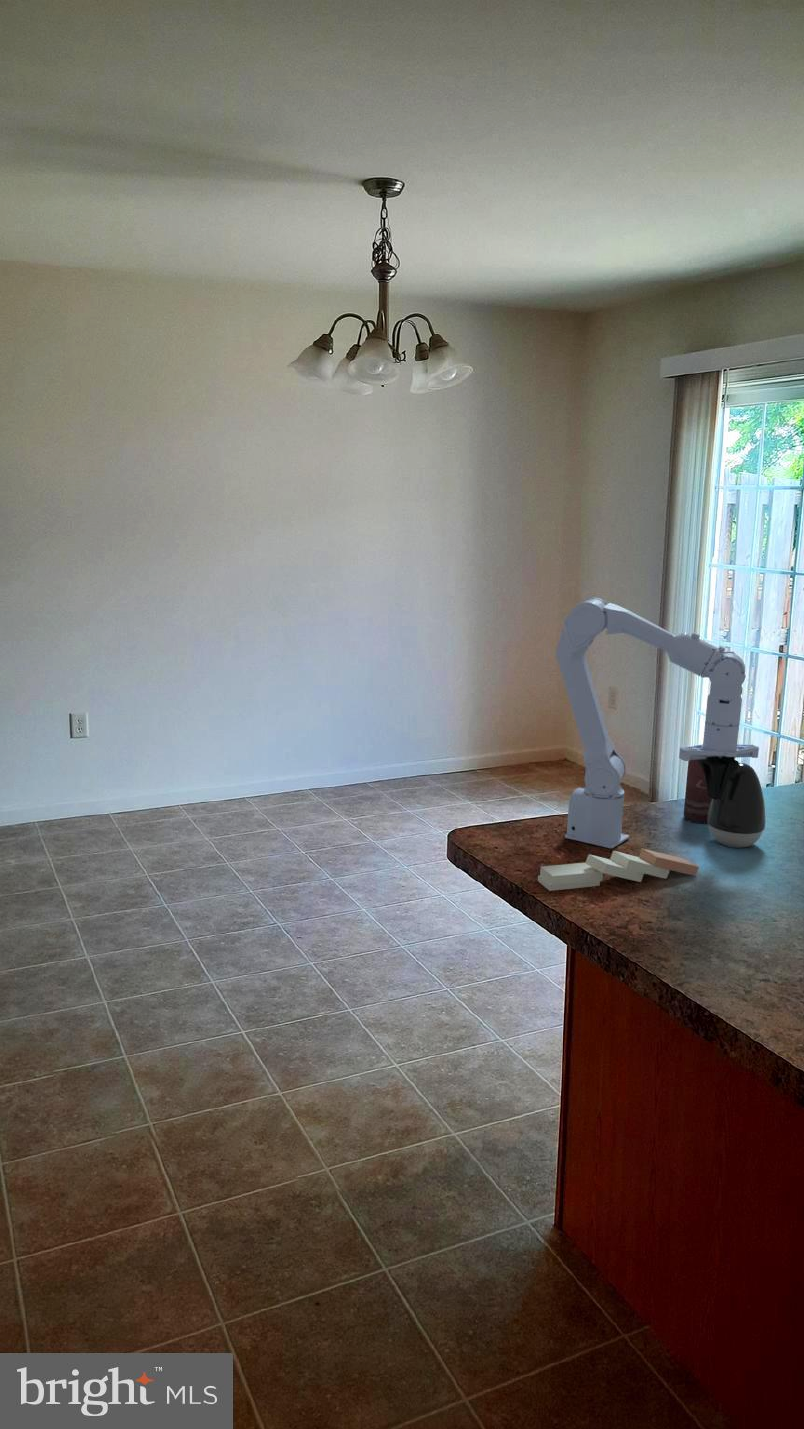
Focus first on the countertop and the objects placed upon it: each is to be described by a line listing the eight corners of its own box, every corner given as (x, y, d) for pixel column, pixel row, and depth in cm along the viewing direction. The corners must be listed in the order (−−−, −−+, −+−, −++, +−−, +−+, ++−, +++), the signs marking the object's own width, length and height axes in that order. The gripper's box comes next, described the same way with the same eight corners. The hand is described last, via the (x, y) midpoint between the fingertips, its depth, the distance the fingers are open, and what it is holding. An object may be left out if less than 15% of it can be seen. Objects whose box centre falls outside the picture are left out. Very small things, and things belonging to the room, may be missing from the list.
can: (719, 817, 208) (726, 749, 205) (710, 826, 202) (716, 755, 199) (689, 812, 211) (695, 744, 208) (679, 820, 206) (685, 750, 203)
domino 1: (602, 880, 170) (552, 885, 167) (589, 871, 174) (540, 875, 172) (603, 871, 170) (552, 876, 167) (589, 862, 174) (540, 866, 171)
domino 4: (666, 878, 174) (626, 868, 170) (649, 869, 178) (610, 859, 174) (669, 869, 174) (629, 859, 170) (652, 860, 178) (613, 850, 174)
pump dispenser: (692, 837, 196) (699, 758, 192) (736, 831, 200) (744, 754, 196) (729, 855, 186) (737, 772, 183) (775, 848, 191) (784, 768, 187)
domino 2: (599, 889, 171) (549, 894, 168) (586, 879, 175) (537, 884, 172) (600, 879, 170) (549, 885, 168) (587, 870, 175) (538, 875, 172)
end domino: (695, 875, 176) (654, 866, 172) (679, 866, 180) (638, 857, 176) (699, 866, 176) (657, 856, 172) (682, 858, 180) (641, 848, 176)
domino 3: (640, 882, 173) (603, 873, 168) (622, 872, 176) (585, 863, 171) (644, 873, 172) (606, 863, 167) (626, 863, 176) (588, 854, 171)
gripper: (697, 729, 176) (690, 806, 179) (772, 726, 180) (763, 802, 183) (675, 720, 183) (669, 794, 186) (748, 717, 187) (740, 790, 190)
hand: (714, 797), depth 185 cm, fingers closed
